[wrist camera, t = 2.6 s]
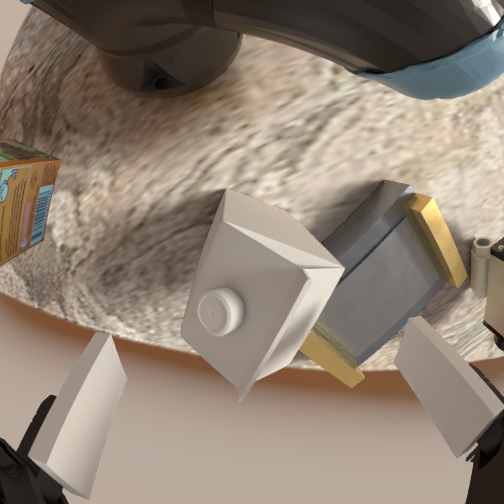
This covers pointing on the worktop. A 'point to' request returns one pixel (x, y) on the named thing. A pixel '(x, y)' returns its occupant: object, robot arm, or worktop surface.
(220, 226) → the milk carton
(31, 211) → the milk carton
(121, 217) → the worktop surface
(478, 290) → the ball valve
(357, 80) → the worktop surface
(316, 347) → the grey tray
